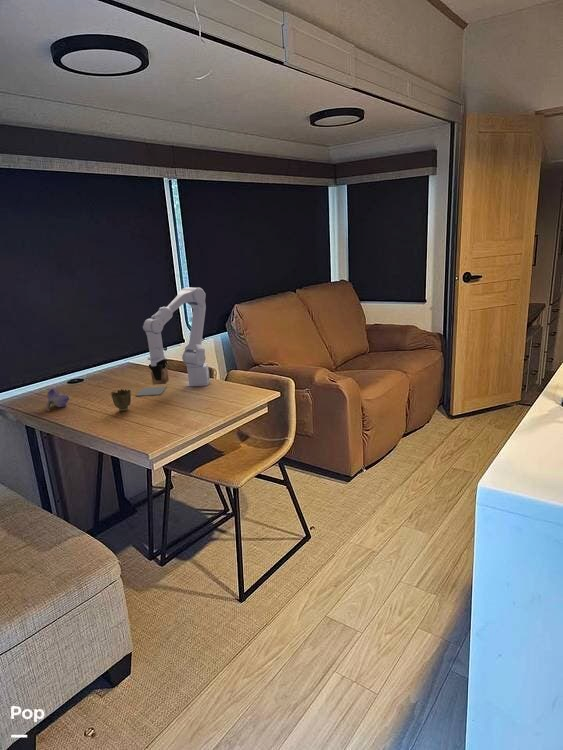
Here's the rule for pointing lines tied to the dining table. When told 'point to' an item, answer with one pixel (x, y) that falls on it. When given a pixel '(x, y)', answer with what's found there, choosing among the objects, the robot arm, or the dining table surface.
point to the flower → (56, 399)
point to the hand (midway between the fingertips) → (160, 378)
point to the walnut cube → (163, 377)
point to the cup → (122, 399)
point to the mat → (151, 391)
